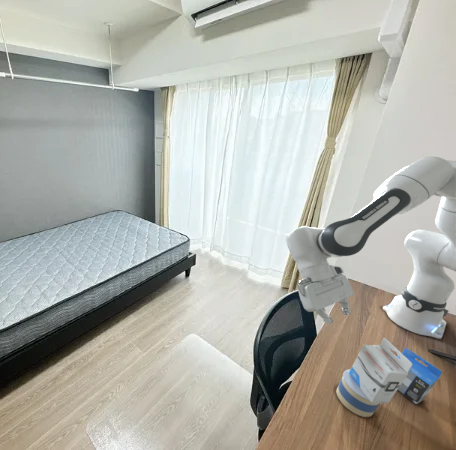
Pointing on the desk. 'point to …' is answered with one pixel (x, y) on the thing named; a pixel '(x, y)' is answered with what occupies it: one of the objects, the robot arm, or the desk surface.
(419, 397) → the label tape box
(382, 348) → the ink box
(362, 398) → the yogurt tub
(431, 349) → the desk surface
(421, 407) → the desk surface
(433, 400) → the desk surface
